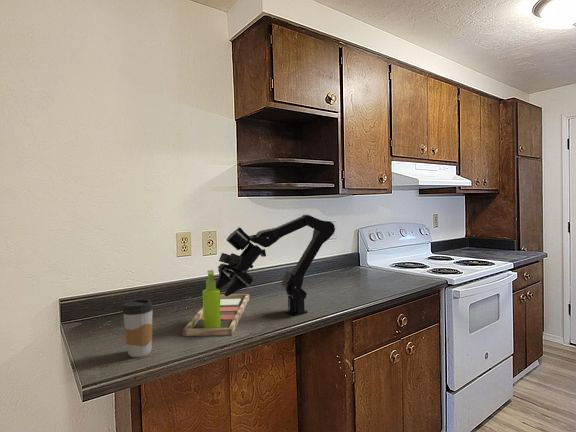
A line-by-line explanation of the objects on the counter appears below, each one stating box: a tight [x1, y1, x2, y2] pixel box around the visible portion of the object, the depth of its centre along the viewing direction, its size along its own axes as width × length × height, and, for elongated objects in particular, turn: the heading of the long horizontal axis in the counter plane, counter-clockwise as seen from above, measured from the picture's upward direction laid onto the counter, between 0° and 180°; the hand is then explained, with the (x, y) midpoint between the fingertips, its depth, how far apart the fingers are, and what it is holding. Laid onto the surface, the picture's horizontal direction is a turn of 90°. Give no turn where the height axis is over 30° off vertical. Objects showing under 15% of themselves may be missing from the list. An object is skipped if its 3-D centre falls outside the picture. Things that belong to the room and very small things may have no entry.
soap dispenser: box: [202, 269, 222, 328], centre depth 125 cm, size 6×7×20 cm
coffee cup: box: [121, 298, 154, 358], centre depth 105 cm, size 8×8×15 cm
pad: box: [220, 299, 242, 307], centre depth 156 cm, size 9×9×1 cm
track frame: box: [182, 293, 251, 337], centre depth 140 cm, size 44×16×2 cm, turn 179°
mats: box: [199, 306, 240, 321], centre depth 140 cm, size 15×13×1 cm
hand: (219, 293), depth 127 cm, fingers open, 9 cm apart
